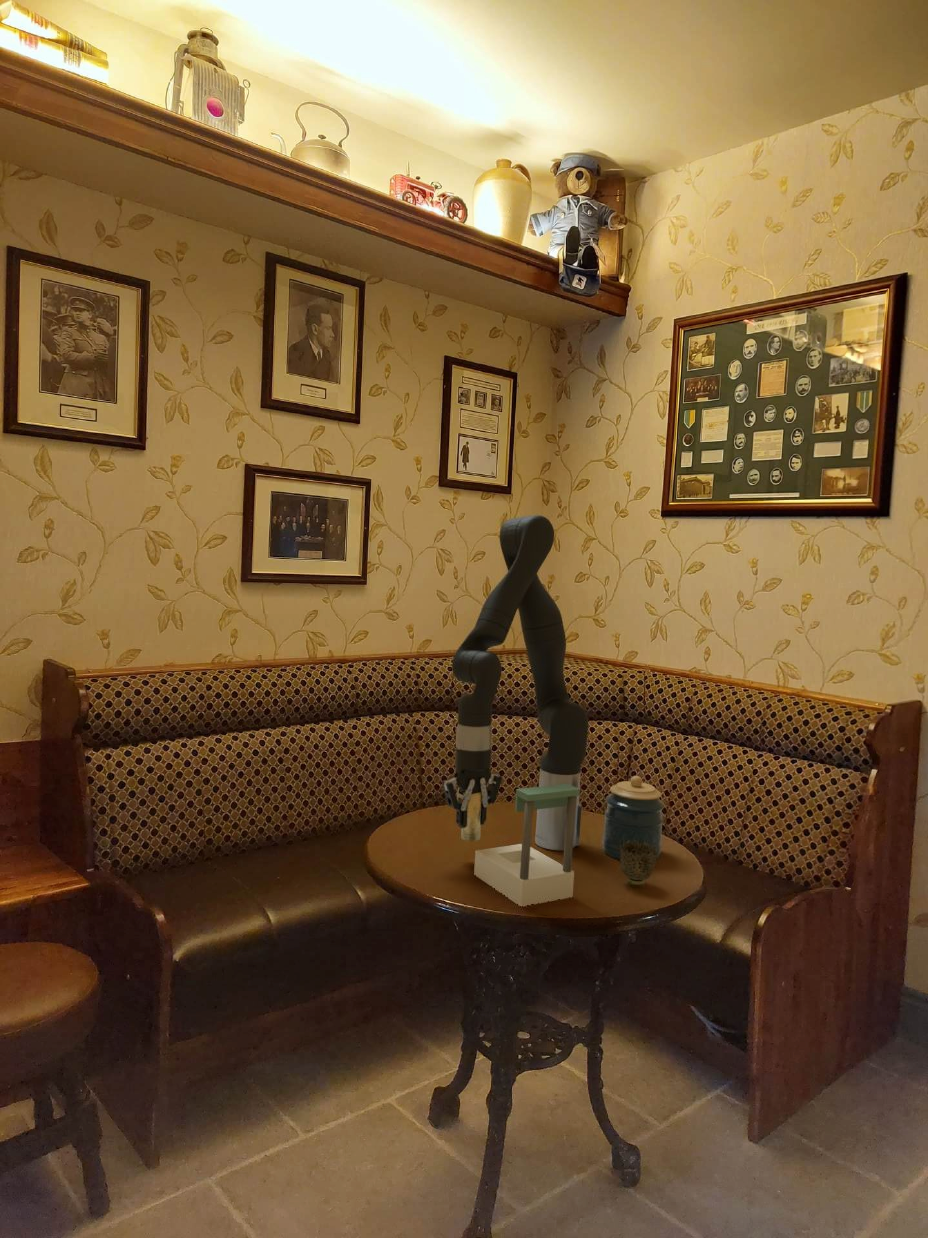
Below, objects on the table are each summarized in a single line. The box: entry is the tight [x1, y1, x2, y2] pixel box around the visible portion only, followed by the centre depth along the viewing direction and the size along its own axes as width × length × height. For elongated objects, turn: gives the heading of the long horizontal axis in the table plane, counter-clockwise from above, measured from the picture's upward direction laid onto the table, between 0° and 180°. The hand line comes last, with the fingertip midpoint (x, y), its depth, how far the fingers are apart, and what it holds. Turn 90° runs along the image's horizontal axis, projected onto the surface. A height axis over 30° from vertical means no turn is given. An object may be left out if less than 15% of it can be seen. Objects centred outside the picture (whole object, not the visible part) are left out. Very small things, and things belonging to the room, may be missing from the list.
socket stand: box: [473, 784, 581, 908], centre depth 166 cm, size 12×17×21 cm
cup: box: [619, 841, 657, 888], centre depth 170 cm, size 8×7×8 cm
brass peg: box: [460, 792, 482, 842], centre depth 177 cm, size 4×4×10 cm
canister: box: [601, 775, 666, 861], centre depth 188 cm, size 13×13×18 cm
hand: (470, 825), depth 177 cm, fingers closed on brass peg, 4 cm apart
